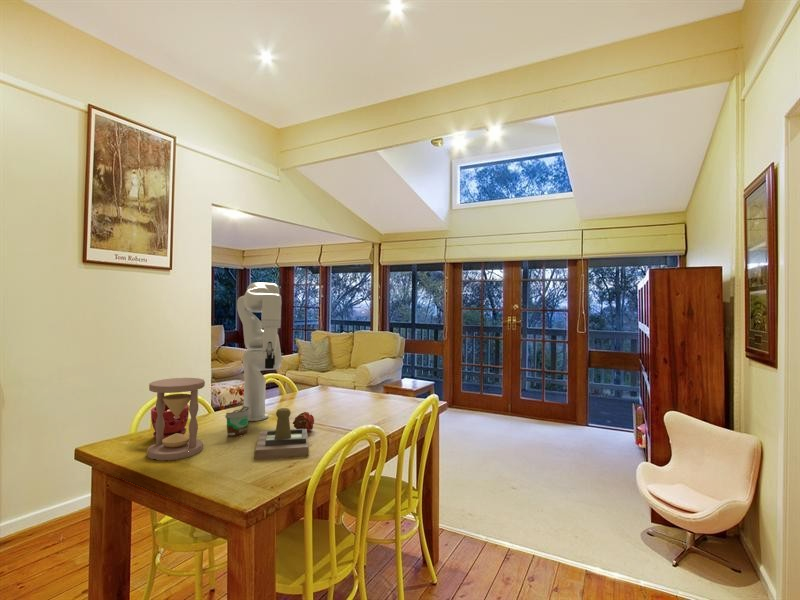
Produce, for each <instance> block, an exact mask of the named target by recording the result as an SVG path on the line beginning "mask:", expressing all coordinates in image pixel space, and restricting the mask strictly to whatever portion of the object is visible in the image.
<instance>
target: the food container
mask: <svg viewBox="0 0 800 600" xmlns="http://www.w3.org/2000/svg"><path fill="white" fill-rule="evenodd" d="M250 413H251V412H250V409H249V407H247V406H244V405H242V407H241V408H240V409H235V410H233V411H232V412H226V413H225V419H226V434H227V435H226V437H227V438H237V436H238V437H242V436H245V435H247V434H248V427H249V426H248V425H249V421H248V418H249V414H250ZM244 434H245V435H244ZM241 435H242V436H241Z"/></svg>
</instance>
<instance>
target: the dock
mask: <svg viewBox="0 0 800 600" xmlns="http://www.w3.org/2000/svg"><path fill="white" fill-rule="evenodd" d="M290 431H291V438H289V439H275V432H276V429H273V430H263V431H262V430H260V431H259V435H258V438H257V442H256V446H255V451H254V460H259V459H262V460H264V459H275V458H276V459H277V458H290V457H291V456H293V457H305V456H304V455H307V456H309V453H310V452H309V451H310V450H309V440H308V439H309V437H308V430H307V429H296V428H294V429H293V428H292V429H291V428H290ZM291 458H292V457H291Z"/></svg>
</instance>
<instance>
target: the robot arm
mask: <svg viewBox="0 0 800 600" xmlns="http://www.w3.org/2000/svg"><path fill="white" fill-rule="evenodd" d="M236 307H237V308H236V310H237V314H238V317H239V319H240V321H241V323H242V330H243V339H244V340H243V342H244V346H245V348H246V349H247V350H248V351H246V352H245V353H244V354H243V355H242V364H243V365H242V366H243V374H244V376H243V377H244V378H243V406H247V407H249V409H250V412H251V413H250V414H249V418H248V422H259V421H264V420H265V419H268V418H269V414H268V412H266V384H267V383H266V382H267V381H266V378H265V376H264V375H263V374H262V373H261V371H269V370H270V371H272V370H273V371H274V370H278V369H280V368H281V367H282V363H283V361H282V358H283V357H282V352H281V351H282V349H281V343H280V336H279V334H278V329H281V325H282V323H281V322H282V296H281V294H280V289H279V286H278V285H277V284H276V283H274V282H251V283H250V284H249V285H248V286H247V288H246V291H245V293H244V295H242V296H240V297H238V298H237V300H236ZM254 313H261V314H260V315H261V320H260V319H259V318H258V317H257V315H255V314H254Z"/></svg>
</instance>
